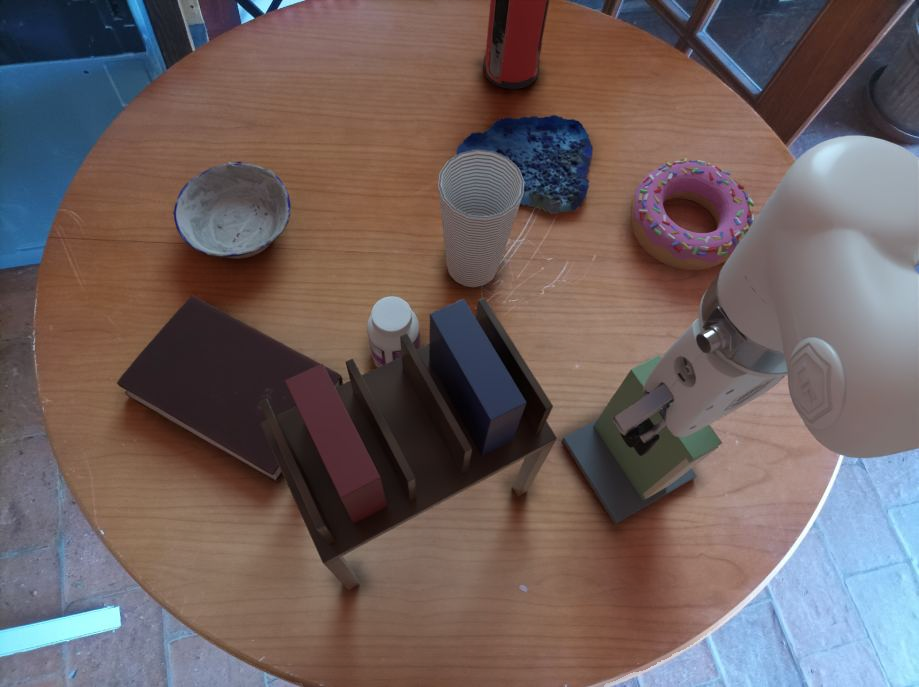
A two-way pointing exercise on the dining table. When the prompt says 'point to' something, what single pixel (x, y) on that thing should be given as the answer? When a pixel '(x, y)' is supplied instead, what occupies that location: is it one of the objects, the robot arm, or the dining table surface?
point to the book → (218, 380)
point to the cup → (478, 213)
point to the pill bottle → (391, 329)
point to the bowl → (232, 210)
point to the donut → (703, 188)
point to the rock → (542, 158)
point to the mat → (610, 474)
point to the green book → (666, 454)
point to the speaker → (514, 42)
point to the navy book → (474, 377)
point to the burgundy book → (338, 442)
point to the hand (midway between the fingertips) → (679, 412)
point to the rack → (405, 445)
